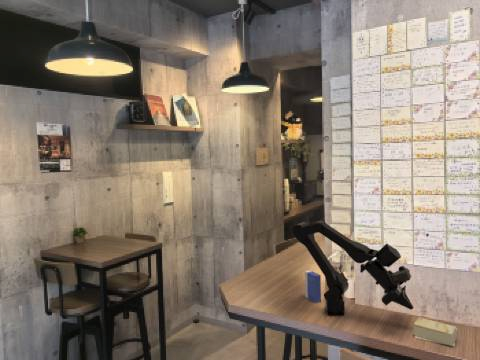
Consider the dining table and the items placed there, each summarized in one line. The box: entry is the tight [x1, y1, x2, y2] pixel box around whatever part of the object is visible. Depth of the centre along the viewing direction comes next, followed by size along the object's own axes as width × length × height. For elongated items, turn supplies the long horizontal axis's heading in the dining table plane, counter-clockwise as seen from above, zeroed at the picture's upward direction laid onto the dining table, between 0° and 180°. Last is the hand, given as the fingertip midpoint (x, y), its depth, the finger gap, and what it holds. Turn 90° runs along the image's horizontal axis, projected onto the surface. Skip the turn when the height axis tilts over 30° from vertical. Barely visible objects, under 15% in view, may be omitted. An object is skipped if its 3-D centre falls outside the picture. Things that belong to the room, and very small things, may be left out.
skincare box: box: [413, 317, 458, 347], centre depth 133 cm, size 6×4×12 cm
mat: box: [414, 335, 456, 347], centre depth 137 cm, size 12×14×1 cm
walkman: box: [304, 270, 322, 304], centre depth 169 cm, size 8×3×12 cm, turn 25°
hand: (412, 308), depth 140 cm, fingers closed
